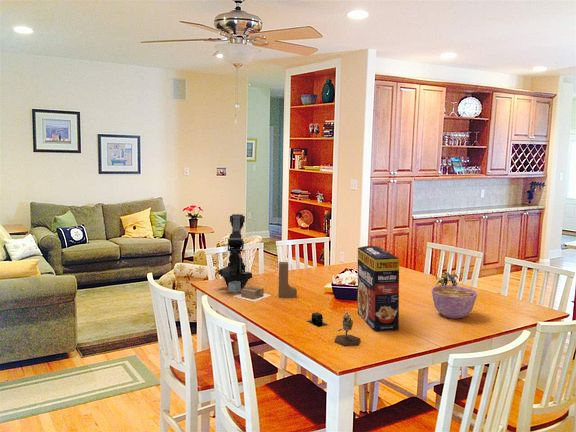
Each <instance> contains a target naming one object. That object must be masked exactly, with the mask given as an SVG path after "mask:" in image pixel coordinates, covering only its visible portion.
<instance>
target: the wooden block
mask: <svg viewBox="0 0 576 432" xmlns="http://www.w3.org/2000/svg"><path fill="white" fill-rule="evenodd" d="M297 291H298V290H297V288H296V287H295V286H290V284H289V262H288V261H279V262H278V293H277V295H278V299H292V298H293V299H294V298H295V299H296V298H298V297H297V295H298V292H297Z"/></svg>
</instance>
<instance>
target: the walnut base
mask: <svg viewBox="0 0 576 432" xmlns="http://www.w3.org/2000/svg"><path fill="white" fill-rule="evenodd" d="M264 289H265V288H263V287H258V286H253V285H250V286H246V287H244V288H243V289H241V291H240V294H241V297H244V298H248V299H253V300H254V299H257V298H260V297H263V296H264V294H265V293H264Z"/></svg>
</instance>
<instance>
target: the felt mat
mask: <svg viewBox="0 0 576 432" xmlns="http://www.w3.org/2000/svg"><path fill="white" fill-rule="evenodd" d="M232 297H233V298H238V299H243V300H247V301H251V302H257V301H260V300H262V299H265V298H267V297H271V294H268V293H264V296H263V297H260V298H257V299H254V300H253V299H248V298H244V297H241V293H239V294H236V295H233V296H232Z"/></svg>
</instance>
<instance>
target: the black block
mask: <svg viewBox="0 0 576 432" xmlns="http://www.w3.org/2000/svg"><path fill="white" fill-rule="evenodd" d="M323 319H324V316H323V313H320V312H313V313H311V319H307V320H306V322H307V323H309V324H311V325H312V326H313V325H314V326H315V327H318V328H321V327H326V326H328V325H329V324H328V323H325V322H324V321H323Z"/></svg>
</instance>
